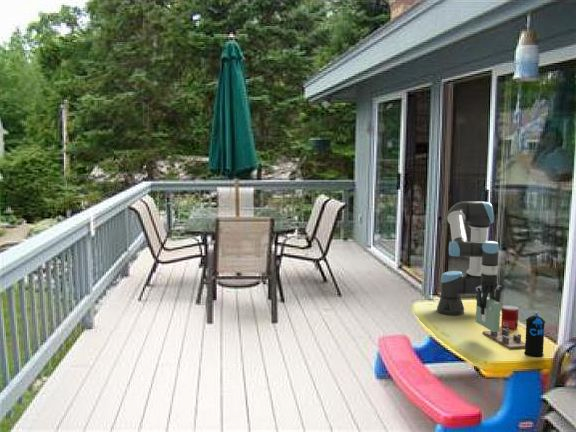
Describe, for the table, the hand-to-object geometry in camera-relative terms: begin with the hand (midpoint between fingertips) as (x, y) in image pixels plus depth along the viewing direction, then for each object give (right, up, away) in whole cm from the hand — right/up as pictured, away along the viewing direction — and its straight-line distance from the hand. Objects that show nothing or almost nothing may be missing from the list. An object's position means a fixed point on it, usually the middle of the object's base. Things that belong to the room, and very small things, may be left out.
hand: (487, 320), depth 286 cm
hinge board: (+10, -10, +3) cm, 15 cm away
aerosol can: (+16, -13, -16) cm, 26 cm away
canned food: (+20, -8, +23) cm, 32 cm away
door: (0, -3, 0) cm, 3 cm away
